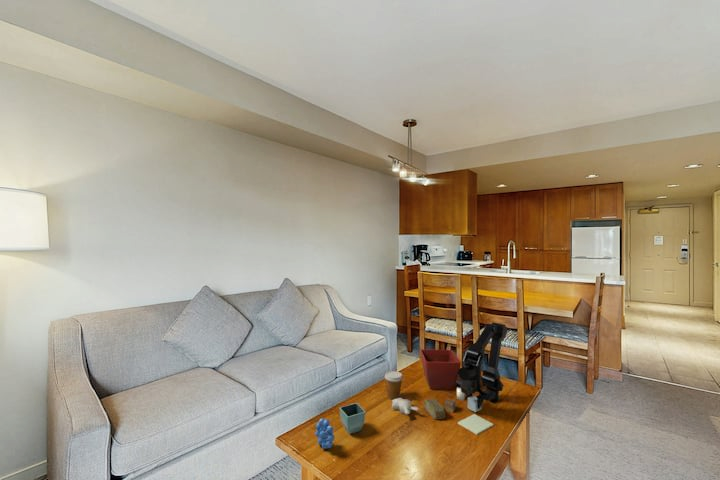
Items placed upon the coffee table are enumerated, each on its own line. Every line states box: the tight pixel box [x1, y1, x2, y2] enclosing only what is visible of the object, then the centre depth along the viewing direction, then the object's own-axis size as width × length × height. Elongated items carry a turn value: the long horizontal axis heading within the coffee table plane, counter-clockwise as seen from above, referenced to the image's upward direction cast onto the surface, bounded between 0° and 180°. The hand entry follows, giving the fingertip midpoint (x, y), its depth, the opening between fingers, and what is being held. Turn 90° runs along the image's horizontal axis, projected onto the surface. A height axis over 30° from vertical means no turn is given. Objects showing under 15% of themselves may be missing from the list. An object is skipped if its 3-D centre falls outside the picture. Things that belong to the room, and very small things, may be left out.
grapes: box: [314, 417, 336, 450], centre depth 130 cm, size 12×7×12 cm, turn 41°
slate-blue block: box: [467, 394, 482, 413], centre depth 157 cm, size 4×4×5 cm
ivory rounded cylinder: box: [456, 387, 466, 401], centre depth 170 cm, size 4×4×5 cm
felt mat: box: [457, 413, 494, 435], centre depth 147 cm, size 12×10×1 cm
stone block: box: [423, 398, 446, 420], centre depth 156 cm, size 6×12×5 cm, turn 18°
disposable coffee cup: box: [384, 370, 404, 401], centre depth 171 cm, size 10×10×12 cm
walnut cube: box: [444, 398, 457, 413], centre depth 159 cm, size 4×4×4 cm
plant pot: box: [420, 349, 462, 391], centre depth 186 cm, size 19×19×17 cm
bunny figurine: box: [391, 397, 420, 415], centre depth 158 cm, size 10×5×15 cm
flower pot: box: [339, 402, 366, 435], centre depth 142 cm, size 9×9×9 cm
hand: (474, 406), depth 157 cm, fingers closed on slate-blue block, 4 cm apart
